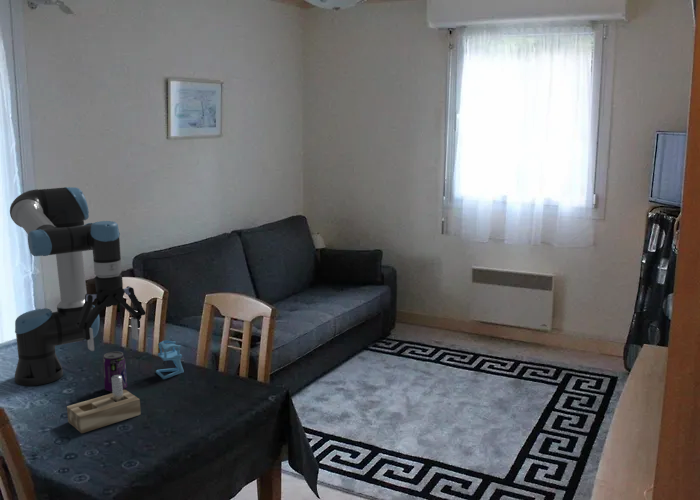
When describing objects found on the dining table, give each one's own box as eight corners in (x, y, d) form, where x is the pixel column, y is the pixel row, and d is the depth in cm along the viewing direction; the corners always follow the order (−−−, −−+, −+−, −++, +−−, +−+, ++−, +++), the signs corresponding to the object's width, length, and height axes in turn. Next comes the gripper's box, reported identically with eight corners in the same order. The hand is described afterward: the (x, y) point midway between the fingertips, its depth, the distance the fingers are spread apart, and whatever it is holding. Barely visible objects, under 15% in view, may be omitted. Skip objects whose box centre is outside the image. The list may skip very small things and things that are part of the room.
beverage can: (120, 394, 222) (117, 359, 219) (100, 392, 223) (97, 357, 221) (131, 385, 228) (128, 351, 226) (112, 384, 230) (109, 350, 228)
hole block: (68, 422, 202) (66, 406, 201) (126, 404, 214) (125, 389, 213) (81, 433, 195) (80, 417, 194) (140, 414, 206) (139, 399, 205)
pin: (112, 413, 207) (109, 376, 205) (122, 410, 209) (119, 373, 207) (116, 416, 205) (113, 379, 203) (126, 413, 207) (123, 376, 205)
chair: (186, 374, 238) (184, 341, 236) (163, 379, 234) (161, 346, 231) (178, 367, 244) (176, 335, 242) (155, 372, 240) (153, 340, 238)
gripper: (70, 284, 188) (76, 357, 192) (154, 270, 204) (158, 337, 208) (60, 279, 193) (66, 350, 197) (142, 265, 209) (147, 331, 214)
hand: (113, 344), depth 203 cm, fingers open, 13 cm apart
